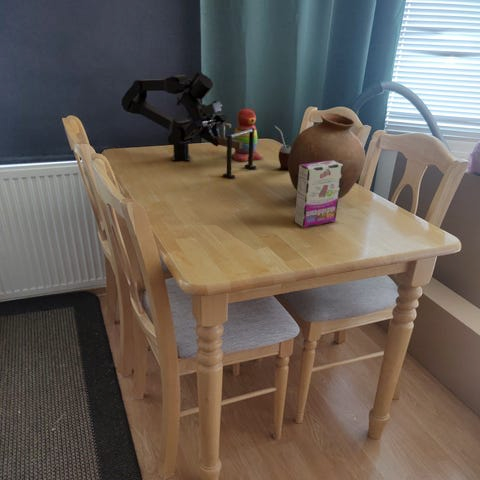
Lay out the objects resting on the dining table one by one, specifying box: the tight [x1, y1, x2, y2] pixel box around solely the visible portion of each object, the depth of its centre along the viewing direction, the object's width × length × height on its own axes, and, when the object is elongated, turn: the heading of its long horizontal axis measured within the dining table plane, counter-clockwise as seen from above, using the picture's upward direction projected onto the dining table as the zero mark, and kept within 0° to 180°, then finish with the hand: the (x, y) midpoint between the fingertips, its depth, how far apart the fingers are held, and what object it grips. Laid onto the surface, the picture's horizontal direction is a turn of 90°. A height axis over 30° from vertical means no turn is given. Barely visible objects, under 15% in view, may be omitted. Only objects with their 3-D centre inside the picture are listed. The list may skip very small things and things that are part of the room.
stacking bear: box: [233, 108, 263, 162], centre depth 185 cm, size 11×10×18 cm
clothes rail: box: [222, 128, 257, 180], centre depth 169 cm, size 4×16×14 cm, turn 146°
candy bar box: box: [294, 160, 343, 229], centre depth 132 cm, size 11×5×16 cm, turn 117°
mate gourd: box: [274, 125, 292, 171], centre depth 174 cm, size 8×8×15 cm
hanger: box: [215, 122, 242, 150], centre depth 169 cm, size 12×2×8 cm, turn 56°
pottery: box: [287, 112, 366, 200], centre depth 146 cm, size 23×23×25 cm
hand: (219, 145), depth 172 cm, fingers closed on hanger, 2 cm apart
